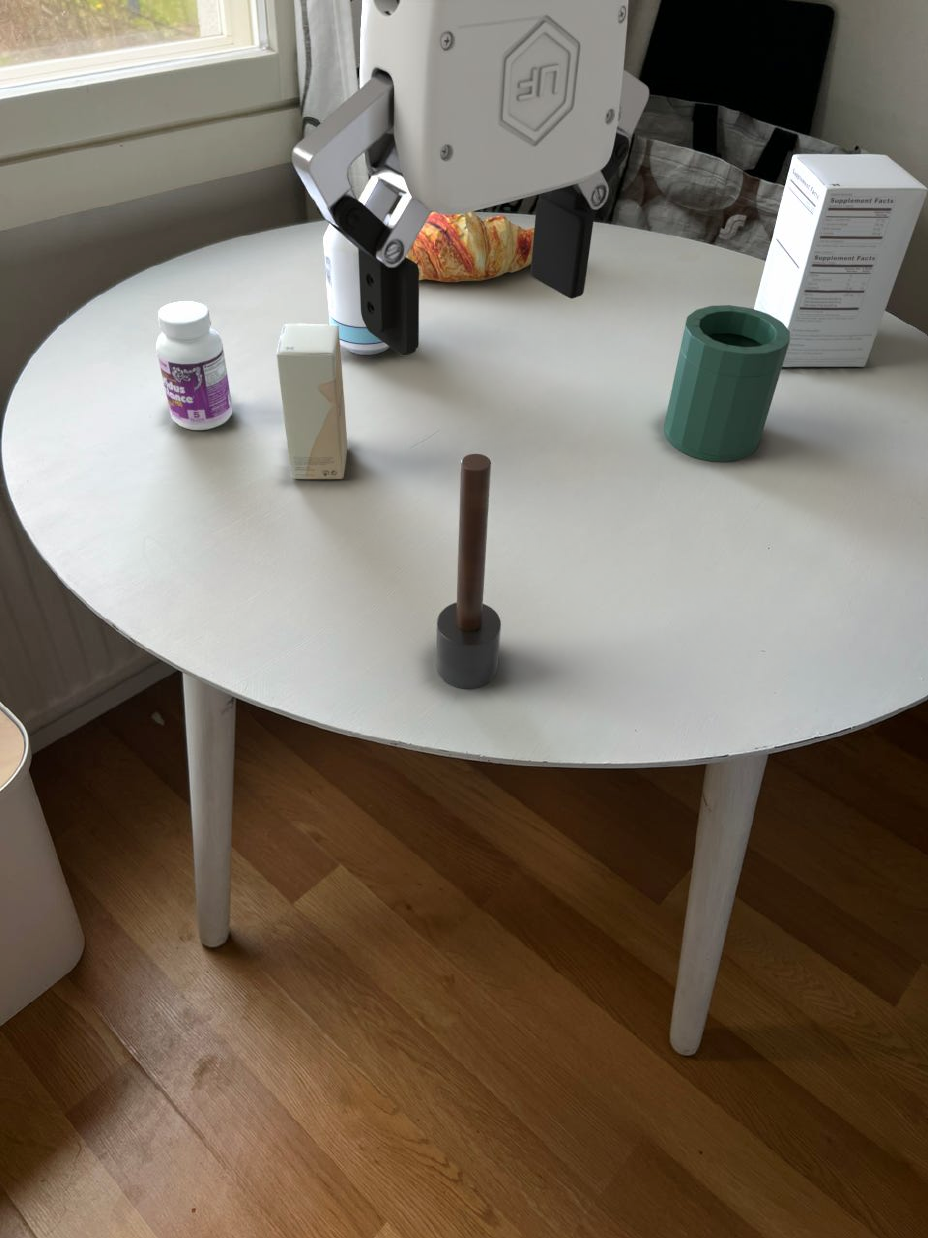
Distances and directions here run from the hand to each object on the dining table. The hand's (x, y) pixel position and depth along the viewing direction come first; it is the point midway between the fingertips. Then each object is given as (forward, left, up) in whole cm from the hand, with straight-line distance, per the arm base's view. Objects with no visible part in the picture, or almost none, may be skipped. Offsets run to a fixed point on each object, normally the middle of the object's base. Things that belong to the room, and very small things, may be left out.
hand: (477, 312), depth 42 cm
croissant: (-8, -61, -25) cm, 66 cm away
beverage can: (+4, -45, -25) cm, 51 cm away
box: (+9, -25, -25) cm, 36 cm away
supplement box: (-40, -41, -25) cm, 62 cm away
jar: (-25, -26, -25) cm, 44 cm away
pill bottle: (+19, -33, -25) cm, 45 cm away
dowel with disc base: (0, -1, -25) cm, 25 cm away
